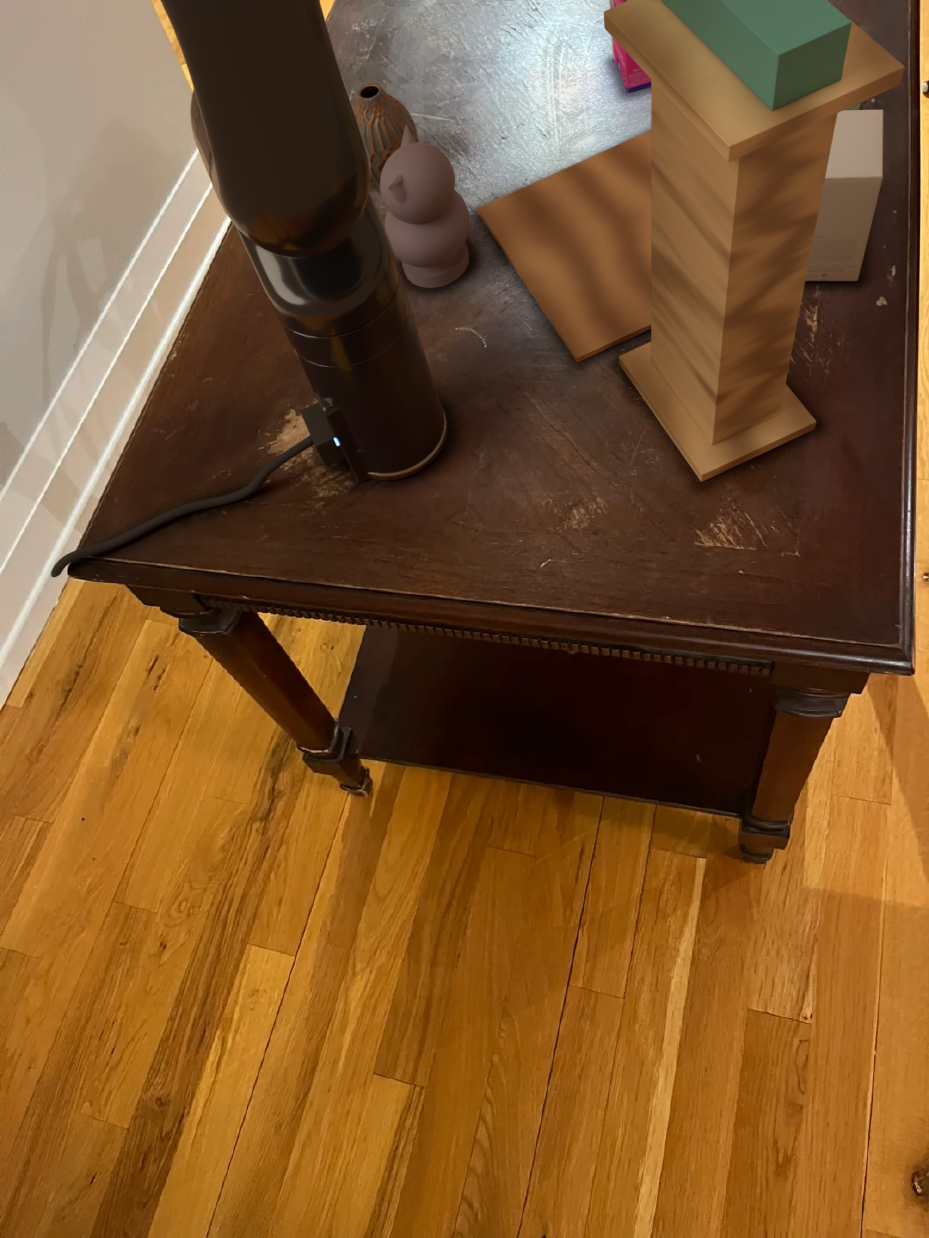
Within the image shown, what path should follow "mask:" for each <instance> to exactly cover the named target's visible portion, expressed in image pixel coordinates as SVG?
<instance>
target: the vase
mask: <svg viewBox="0 0 929 1238" xmlns="http://www.w3.org/2000/svg"><path fill="white" fill-rule="evenodd" d="M353 109H354V112H355V115H356V118H357V121H358V123H359V126H360V129H361V132H362V134H363V137H364V140H365V142H366V145H367V148H368V152H369V157H370V165H371V180H372V181H374V182H377V183H380V178H381V172H382V170H383V168H384V165H385V163H386V161H387V160H388V158H389V157H390V156H391V155H392V154H393V153H394V152H395V151H396V150H398V149H399V148H400V147H401V143H402V138H403V134H404V129H405V125H406V124H407V126H408V128H409V130H410V131H411V133H412V135H413V137H414V138H415V140H416V142H418V143H419V136H418V131H417V127H416V123H415V121H414V119H413V117H412V115H411V113H410V112H409V110H408V109H407V107H406V106H405V105H404V104H403V103H402V102H401V101H400V100H398V99H397V98H396V97H394V96H393V95H391V94H389V93H388V92H387V91H386V90H385V89H384V88H383V87H382V86H381V85H380V84H379V83H375V82H370V83H367V84H363V86H361V87H359V89H358V90H357V94H356V101H355V103H354V106H353Z"/></svg>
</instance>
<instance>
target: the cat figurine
mask: <svg viewBox="0 0 929 1238" xmlns="http://www.w3.org/2000/svg"><path fill="white" fill-rule="evenodd" d="M455 188H456V174H455V171H454V167H453V165H452V162H451V161H450V159H449V157H448V156H447V155H446V154H445V152H443V151H442V150H441V149H440V148H438V147H437V146H435V145H432V144H429V143H426V142H419V141H418V142H416V140H415V138H414V137H413V135H412V133H411V131H410V130H409V128H408V126H407V124H406V125H405V129H404V134H403V138H402V143H401V147H400V148H399V149H398V150H396V151H395V152H394V153H393V154H392V155H391V156H390V157H389V158H388V160H387V161H386V163H385V165H384V168H383V170H382V172H381V178H380V182H379V192H380V196H381V199H382V202H383V203H384V206H385V208H386V209H387V212H386V214H385V216H384V218H385V219H384V227H385V230H386V232H387V235H388V237H389V240H390V242H391V246H392V249H393V252H394V255H395V257H396V258H397V259H398V260H399V261H400V262H401V265H402V269H403V272H404V274H405V277H406V279H407V280H408V281H410V283H412V284H413V285H415V286H418V287H421V288H427V289H434V288H441V287H444V286H447V285H449V284H452V283H454V282H455V281H456V280H457V279H459V278H460V277H461V276H463V274H464V273H465V272H466V270H467V268H468V265H469V263H470V255H469V254H470V253H469V250H468V249H469V248H468V245H467V241H466V240H467V237H468V234H469V231H470V211H469V208H468V206H467V204H466V202H465V199H464V197H463V195H461V194H460V193H459V192H458V191H457V190H455Z"/></svg>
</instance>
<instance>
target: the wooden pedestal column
mask: <svg viewBox="0 0 929 1238" xmlns="http://www.w3.org/2000/svg"><path fill="white" fill-rule="evenodd" d="M828 2H829V3H831V2H830V1H828ZM835 8H836V9H838V8H837V7H835ZM848 19H849V20H851V19H850V18H848ZM603 27H604V30H605V31H606V32H607V33H608V34H609V35H610V36H612V37H613V38H614V39H615V40H616V41H617V42H618V44H619V45H620V46H621V47H622V48H623V49H624V50H625V51H626V52H627V53H628V54H629V55H630V57H631V58H632V59H633V60H634V61H635V62H636V63H637V64H638V65H639V66H640V67H641V69H642V70H643V71H644V72H645V73H646V74H647V75H648V76H649V77H650V78H651V86H650V87H651V89H650V93H651V96H650V99H651V101H650V102H651V109H650V110H651V112H650V113H651V115H650V117H651V124H650V125H651V127H650V130H651V329H650V330H651V332H650V333H651V337H650V338H651V339H650V340H651V341H648V342H647V343H645V344H643V345H640V346H638V347H636V348H634V349H632V350H629V351H627V352H625V353H623V354H620V355H619V356H618V365H619V366H620V368H621V369H622V370H623V372H624V373H625V374H626V376H627V378H628V379H629V380H630V382H631V383H632V385H633V386H634V388H635V390H636V391H638V393H639V395H640V396H641V397H642V399H643V400H644V402H645V403H646V405H647V406H648V407H649V409H650V410H651V412H652V413H653V415H654V416H655V418H656V419H657V421H658V422H659V424H660V425H661V427H662V428H663V430H664V431H665V432H666V434H667V435H668V436H669V438H670V439H671V440H672V442H673V443H674V445H675V446H676V448H677V450H678V451H679V452H680V454H681V455H682V457H683V458H684V460H685V461H686V462H687V464H688V465H689V466H690V468H691V470H692V471H693V472H694V474H695V475H696V477H697V478H698V479H699V481H700V482H701V483H702V482H704V481H706V480H709V479H711V478H713V477H715V476H717V475H720V474H722V473H724V472H726V471H728V470H730V469H733V468H734V467H737V466H739V465H741V464H743V463H745V462H747V461H750V460H752V459H754V458H756V457H758V456H760V455H763V454H765V453H766V452H769V451H771V450H773V449H775V448H777V447H780V446H782V445H784V444H786V443H788V442H791V441H792V440H795V439H798V438H799V437H801V436H803V435H806V434H807V433H810V432H812V431H814V430H816V425H817V420H816V419H815V418H814V417H813V416H812V414H811V413H810V412H809V411H808V409H807V408H806V407H805V405H804V404H803V403H802V402H801V400H800V399H799V397H797V395H796V394H795V393H794V392H793V391H792V389H791V388H790V387H789V386H788V385H787V378H788V373H789V368H790V363H791V358H792V352H793V348H794V342H795V336H796V331H797V327H798V322H799V316H800V311H801V306H802V302H803V301H802V300H803V296H804V290H805V286H806V285H805V284H806V281H805V280H806V275H807V270H808V265H809V259H810V254H811V249H812V244H813V239H814V233H815V228H816V223H817V218H818V212H819V207H820V202H821V197H822V192H823V186H824V181H825V176H826V171H827V166H828V160H829V155H830V150H831V145H832V140H833V134H834V129H835V124H836V119H837V113H839V112H841V111H843V110H845V109H847V108H850V107H852V106H854V105H856V104H858V103H861V102H862V103H863V102H864V101H868V100H870V99H872V98H874V97H876V96H878V95H880V94H882V93H885V92H887V91H889V90H891V89H893V88H895V87H898V86H900V85H901V83H902V80H903V76H904V72H905V65H904V64H903V63H901V61H900V60H898V59H897V58H896V57H894V56H893V55H892V54H891V53H890V52H888V51H887V50H886V49H885V47H883V46H881V45H880V44H879V43H878V42H877V41H876V40H874V39H873V38H872V37H871V36H870V35H868V34H867V32H865V31H864V30H863V29H862V28H861V27H859V26H858V25H856V23H854V22H853V21H852V25H851V30H850V35H849V41H848V46H847V51H846V57H845V62H844V67H843V72H842V78H841V80H839V81H837V82H835V83H832V84H830V85H828V86H826V87H824V88H821V89H819V90H817V91H815V92H813V93H810V94H808V95H806V96H804V97H802V98H799V99H797V100H795V101H793V102H791V103H788V104H786V105H784V106H782V107H780V108H777V109H775V110H773V111H771V110H770V109H769V108H768V107H767V106H766V105H765V104H764V103H763V102H762V101H761V100H760V99H759V98H758V97H757V96H756V95H755V94H754V93H753V92H752V91H751V90H750V89H749V88H748V87H747V86H746V85H745V84H744V83H743V82H742V81H741V80H740V79H739V78H738V77H737V76H736V75H735V74H734V73H733V72H732V71H731V70H730V69H729V68H728V67H727V66H726V65H725V64H724V63H723V62H722V61H721V60H720V59H719V58H718V57H717V56H716V55H715V54H714V53H713V52H712V51H711V50H710V49H709V48H708V47H707V46H706V45H705V44H704V43H703V42H702V41H701V40H700V39H699V38H698V37H697V36H696V35H695V34H694V33H693V32H692V31H691V30H690V29H689V28H688V27H687V26H686V25H685V24H684V23H683V22H682V21H681V20H680V19H679V18H678V17H677V16H676V15H675V14H674V13H673V12H672V11H671V10H670V9H669V8H668V7H667V6H666V5H665V4H664V3H663V2H662V1H661V0H629V1H626V2H624V3H622V4H620V5H617V6H615V7H613V8H611V9H610V8H608V9H606V10H604V11H603ZM612 37H611V38H612ZM862 103H861V104H862Z"/></svg>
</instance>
